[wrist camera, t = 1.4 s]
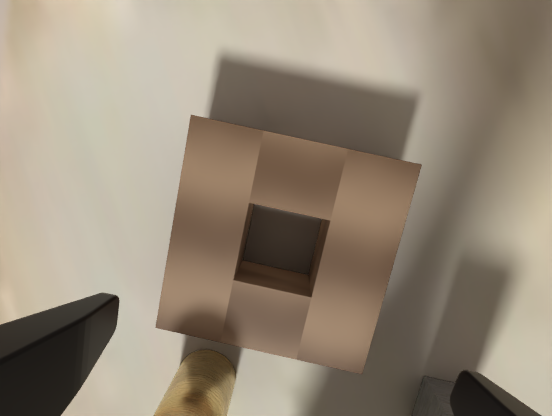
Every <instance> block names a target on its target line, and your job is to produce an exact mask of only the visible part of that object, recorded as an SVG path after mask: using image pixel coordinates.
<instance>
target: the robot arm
mask: <svg viewBox="0 0 552 416" xmlns="http://www.w3.org/2000/svg"><path fill="white" fill-rule="evenodd" d="M118 309H119V297H118V296H116V295H112V294H108V293H99V294H96V295H93V296H90V297H87V298H83V299H80V300H77V301H74V302H71V303H68V304H64V305H61V306H58V307H55V308H52V309H49V310H45V311H42V312H39V313H36V314H33V315H30V316H26V317H23V318H20V319H17V320H14V321H11V322H7V323H4V324H1V325H0V416H61V414H62V413H63V412H64V410H65V409H66V408H67V406H68V405H69V404H70V402H71V401H72V400H73V398H74V397H75V395H76V394H77V393H78V391H79V390H80V388H81V387H82V385H83V383H84V382H85V380H86V379H87V377H88V375H89V374H90V372H91V370H92V369H93V367H94V365H95V364H96V362H97V360H98V359H99V357H100V355H101V354H102V352H103V350H104V349H105V347H106V345H107V344H108V342H109V340H110V339H111V337H112V335H113V334H114V331H115V329H116V325H117V318H118ZM450 406H451V409H452V412H453V416H541V415H540V414H538V413H537V412H535V411H534V410H532V409H531V408H530V407H528V406H527V405H525V404H524V403H522V402H521V401H519V400H518V399H517V398H515V397H514V396H512V395H511V394H509V393H508V392H506V391H505V390H503V389H502V388H501V387H499V386H498V385H496V384H495V383H493V382H492V381H490V380H489V379H488V378H486V377H485V376H483V375H482V374H480V373H477V372H472V371H468V370H463V371H461V372H460V373H459V375H458V378H457V380H456V382H455V385H454V387H453V390H452V392H451V395H450Z"/></svg>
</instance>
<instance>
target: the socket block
mask: <svg viewBox="0 0 552 416" xmlns="http://www.w3.org/2000/svg"><path fill="white" fill-rule="evenodd" d="M421 166H422V165H421V164H416V163H411V162H407V161H402V160H397V159H393V158H388V157H384V156H379V155H374V154H370V153H365V152H360V151H356V150H351V149H347V148H342V147H337V146H333V145H328V144H324V143H319V142H314V141H310V140H305V139H300V138H296V137H291V136H287V135H282V134H277V133H273V132H268V131H263V130H259V129H254V128H250V127H245V126H240V125H236V124H231V123H227V122H222V121H217V120H213V119H208V118H203V117H199V116H194V115H191V118H190V124H189V130H188V136H187V142H186V148H185V154H184V160H183V166H182V172H181V178H180V184H179V190H178V196H177V202H176V208H175V214H174V220H173V226H172V232H171V238H170V244H169V250H168V256H167V262H166V268H165V274H164V280H163V286H162V292H161V298H160V304H159V310H158V316H157V322H156V328H159V329H163V330H168V331H172V332H177V333H181V334H186V335H190V336H194V337H199V338H203V339H208V340H212V341H217V342H221V343H226V344H230V345H234V346H239V347H243V348H248V349H252V350H257V351H261V352H265V353H270V354H274V355H279V356H283V357H288V358H292V359H297V360H301V361H305V362H310V363H314V364H319V365H323V366H328V367H332V368H336V369H341V370H345V371H350V372H354V373H359V374H362V373H363V369H364V366H365V362H366V359H367V355H368V352H369V348H370V345H371V341H372V338H373V334H374V331H375V327H376V324H377V320H378V317H379V313H380V310H381V306H382V303H383V299H384V296H385V292H386V289H387V285H388V282H389V278H390V275H391V271H392V268H393V264H394V260H395V257H396V253H397V250H398V246H399V243H400V239H401V236H402V232H403V229H404V225H405V222H406V218H407V215H408V211H409V208H410V204H411V201H412V197H413V194H414V190H415V187H416V183H417V180H418V176H419V173H420V169H421ZM254 204H257V205H262V206H266V207H271V208H275V209H280V210H285V211H289V212H294V213H298V214H303V215H307V216H312V217H316V218H321V219H322V220H321V225H320V229H319V233H318V237H317V241H316V245H315V249H314V254H313V258H312V262H311V266H310V270H309V274H308V275H306V274H302V273H297V272H293V271H288V270H284V269H279V268H275V267H270V266H266V265H261V264H257V263H252V262H248V261H243V256H244V251H245V246H246V241H247V237H248V232H249V227H250V222H251V217H252V212H253V207H254Z"/></svg>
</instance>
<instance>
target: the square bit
mask: <svg viewBox="0 0 552 416" xmlns="http://www.w3.org/2000/svg"><path fill="white" fill-rule="evenodd" d="M454 385H455V383H453V382H448V381H444V380H439V379H435V378H430V377H426V376H424V378H423V381H422V384H421V388H420V391H419V394H418V397H417V400H416V403H415V406H414V409H413V413H412V416H453V412H452V409H451V406H450V395H451V392H452V390H453V387H454Z"/></svg>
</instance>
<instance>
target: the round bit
mask: <svg viewBox="0 0 552 416" xmlns="http://www.w3.org/2000/svg"><path fill="white" fill-rule="evenodd" d="M235 379H236V376H235V371H234V368H233V366H232V364H231V362H230V361H229V360H228V359H227V358H226V357H225V356H224V355H222V354H220V353H218V352H216V351H212V350H199V351H195V352H193V353H191V354H189V355H188V356H187V357H186V358H185V359H184V360H183V362H182V363H181V365H180V367H179V369H178V371H177V373H176V375H175V376H174V378H173V380H172V382H171V384H170V386H169V388H168V390H167V391H166V393H165V395H164V397H163V399H162V401H161V403H160V405H159V406H158V408H157V410H156V412H155V414H154V416H227V413H228V409H229V405H230V401H231V397H232V393H233V389H234V385H235Z"/></svg>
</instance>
